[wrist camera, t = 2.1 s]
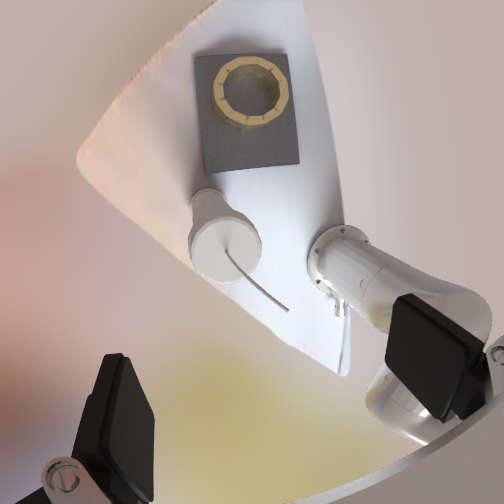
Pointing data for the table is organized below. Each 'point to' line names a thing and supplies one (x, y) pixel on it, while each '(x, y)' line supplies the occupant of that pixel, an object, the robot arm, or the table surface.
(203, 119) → the fitting base
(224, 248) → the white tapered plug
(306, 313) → the table surface
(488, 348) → the robot arm
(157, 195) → the table surface
